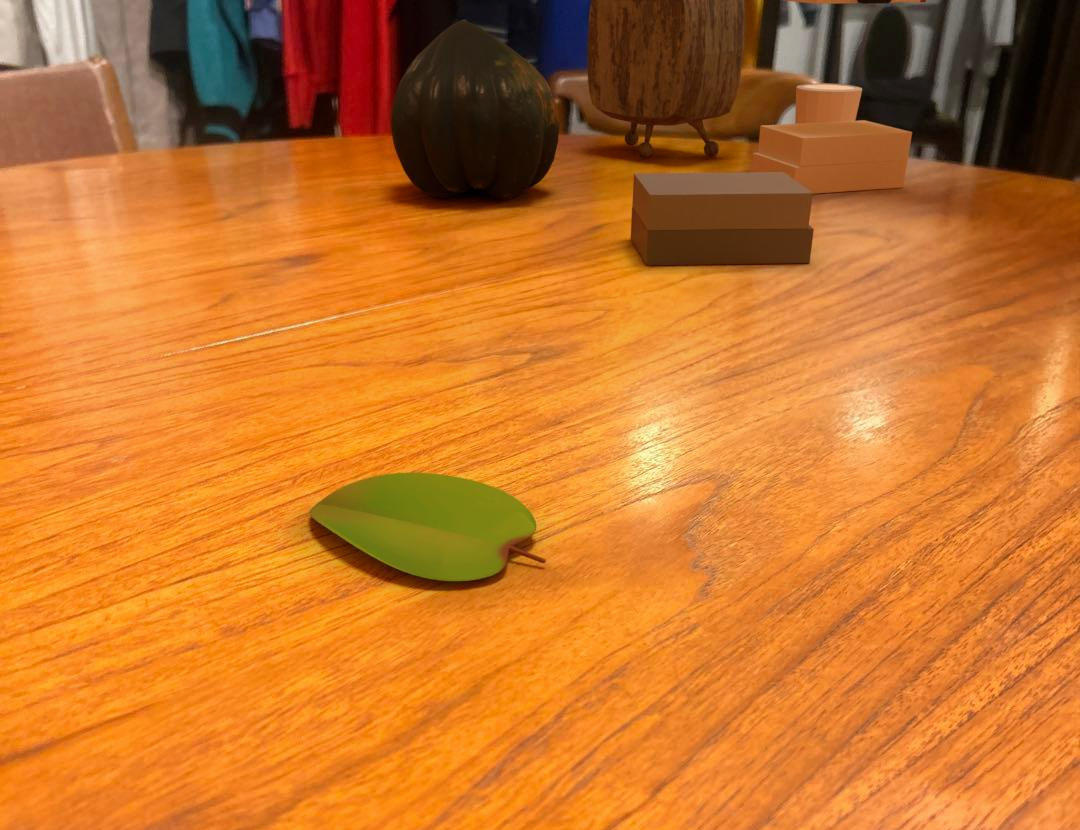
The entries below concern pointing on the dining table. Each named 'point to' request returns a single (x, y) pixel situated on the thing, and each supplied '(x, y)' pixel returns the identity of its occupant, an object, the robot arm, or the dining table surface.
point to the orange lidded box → (835, 155)
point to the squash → (473, 117)
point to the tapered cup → (826, 103)
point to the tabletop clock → (665, 62)
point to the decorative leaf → (429, 524)
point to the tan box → (845, 1)
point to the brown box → (721, 218)
